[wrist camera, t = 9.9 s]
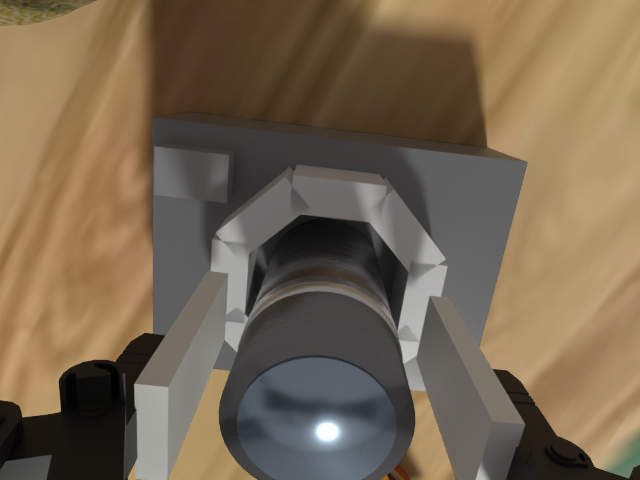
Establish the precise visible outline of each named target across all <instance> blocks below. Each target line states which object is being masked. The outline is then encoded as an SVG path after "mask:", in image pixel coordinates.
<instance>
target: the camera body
mask: <svg viewBox="0 0 640 480" xmlns="http://www.w3.org/2000/svg"><path fill="white" fill-rule="evenodd" d="M527 163H528V162H526V161H523V160H520V159H518V158H515V157H512V156H509V155H507V154H504V153H501V152H498V151H496V150H493V149H490V148H486V147H478V146H470V145H461V144H453V143H444V142H436V141H428V140H419V139H411V138H403V137H394V136H386V135H378V134H369V133H361V132H353V131H344V130H336V129H327V128H319V127H311V126H302V125H294V124H286V123H277V122H269V121H261V120H252V119H244V118H236V117H227V116H219V115H211V114H202V113H194V112H183V113H177V114H171V115H165V116H159V117H153V334H159V335H166V334H167V333H168V331H169V329H170V328H171V326H172V325H173V323H174V322H175V320H176V319H177V317H178V316H179V314H180V313H181V311H182V309H183V308H184V306H185V305H186V303H187V302H188V300H189V299H190V297H191V296H192V294H193V293H194V291H195V289H196V288H197V286H198V285H199V283H200V282H201V280H202V279H203V277H204V276H205V274H206V273H207V271H212V272H221V273H228V291H227V309H226V327H225V340H224V342H223V345H222V347H221V350H220V352H219V355H218V357H217V360H216V362H215V365H214V367H213V369H220V370H229V371H231V368H232V365H233V363H234V360H235V357H236V354H237V351H238V345H239V342H240V339H241V336H242V333H243V330H244V327H245V325H246V322H247V320H248V318H249V315H250V313H251V312H252V310H253V307H254V305H255V302H256V299H257V296H258V293H259V291H260V288H261V285H262V282H263V280H264V277H265V274H266V271H267V269H268V266H269V263H270V260H271V258H272V255H273V252H274V250H275V248H276V245H277V244H278V242H279V241H280V239H281V238H282V237H283V236H284V235H285V234H286V233H287V232H288V231H289V230H291V229H292V228H294V227H295V226H297V225H299V224H301V223H304V222H306V221H310V220H315V219H333V220H338V221H342V222H345V223H347V224H349V225H351V226H353V227H354V228H356V229H358V230H359V231H360V232H361V233H362V234H363V235H364V236H365V237H366V238H367V239H368V240H369V242H370V243H371V245H372V247H373V249H374V251H375V253H376V256H377V260H378V264H379V268H380V272H381V276H382V280H383V284H384V288H385V292H386V296H387V300H388V304H389V308H390V312H391V316H392V319H393V321H394V324H395V326H396V329H397V333H398V337H399V341H400V345H401V350H402V355H403V364H404V368H405V372H406V376H407V380H408V384H409V388H410V390H419V391H426V388H425V385H424V382H423V379H422V376H421V373H420V370H419V367H418V364H417V361H416V357H417V352H418V348H419V343H420V338H421V334H422V329H423V324H424V320H425V315H426V310H427V305H428V301H429V296H438V297H447V298H450V299H451V300H452V302H453V304H454V305H455V307H456V309H457V310H458V312H459V314H460V316H461V317H462V319H463V321H464V322H465V324H466V326H467V327H468V329H469V331H470V332H471V334H472V336H473V337H474V339H475V341H476V342H477V344H478V346H480V342H481V339H482V335H483V331H484V327H485V323H486V319H487V316H488V312H489V308H490V304H491V300H492V297H493V293H494V289H495V285H496V281H497V277H498V274H499V270H500V266H501V262H502V258H503V255H504V251H505V247H506V243H507V239H508V235H509V232H510V228H511V224H512V220H513V216H514V213H515V209H516V205H517V201H518V197H519V193H520V190H521V186H522V182H523V178H524V174H525V171H526V167H527Z"/></svg>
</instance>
